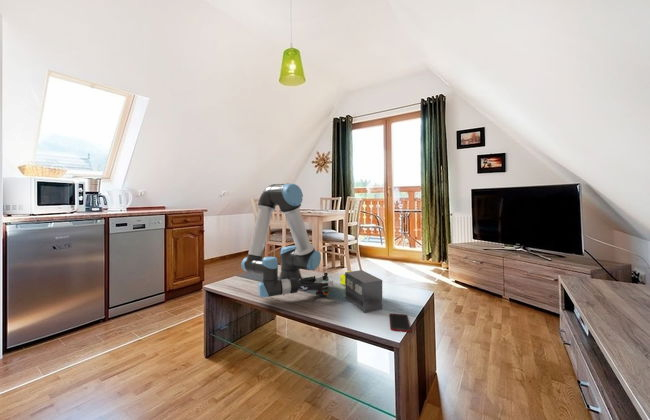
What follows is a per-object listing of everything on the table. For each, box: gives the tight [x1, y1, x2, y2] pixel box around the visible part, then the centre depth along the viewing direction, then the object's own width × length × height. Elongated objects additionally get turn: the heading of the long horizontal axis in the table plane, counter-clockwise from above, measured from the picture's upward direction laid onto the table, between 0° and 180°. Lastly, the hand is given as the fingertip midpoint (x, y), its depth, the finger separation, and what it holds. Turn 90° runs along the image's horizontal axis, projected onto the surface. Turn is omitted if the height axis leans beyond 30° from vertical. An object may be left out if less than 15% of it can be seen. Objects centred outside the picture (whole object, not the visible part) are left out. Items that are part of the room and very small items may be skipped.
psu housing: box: [344, 269, 383, 314], centre depth 130 cm, size 19×10×14 cm, turn 23°
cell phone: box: [389, 313, 412, 333], centre depth 110 cm, size 8×15×1 cm, turn 168°
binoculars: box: [315, 272, 331, 296], centre depth 142 cm, size 9×11×10 cm
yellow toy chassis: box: [339, 270, 351, 286], centre depth 155 cm, size 16×6×8 cm, turn 39°
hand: (329, 280), depth 143 cm, fingers closed on binoculars, 8 cm apart
